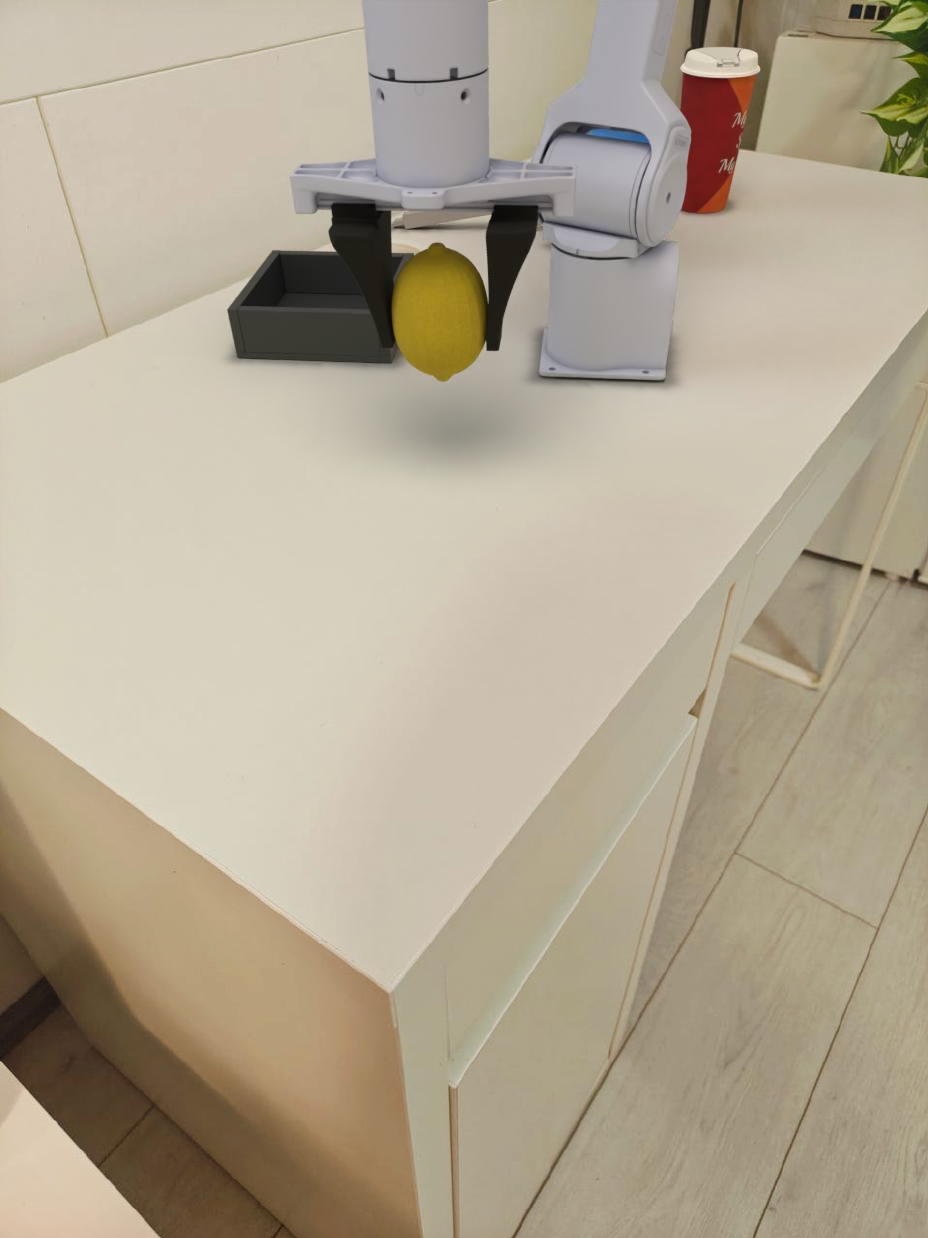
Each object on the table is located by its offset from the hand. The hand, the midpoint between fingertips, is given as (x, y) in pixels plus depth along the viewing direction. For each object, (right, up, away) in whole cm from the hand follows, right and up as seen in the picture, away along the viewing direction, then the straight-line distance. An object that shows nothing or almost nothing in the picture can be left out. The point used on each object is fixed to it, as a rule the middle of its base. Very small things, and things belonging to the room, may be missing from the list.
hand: (440, 341), depth 51 cm
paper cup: (+27, +29, +44) cm, 59 cm away
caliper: (+4, +24, +40) cm, 47 cm away
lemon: (0, -2, +2) cm, 3 cm away
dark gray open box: (-10, +9, +24) cm, 27 cm away
